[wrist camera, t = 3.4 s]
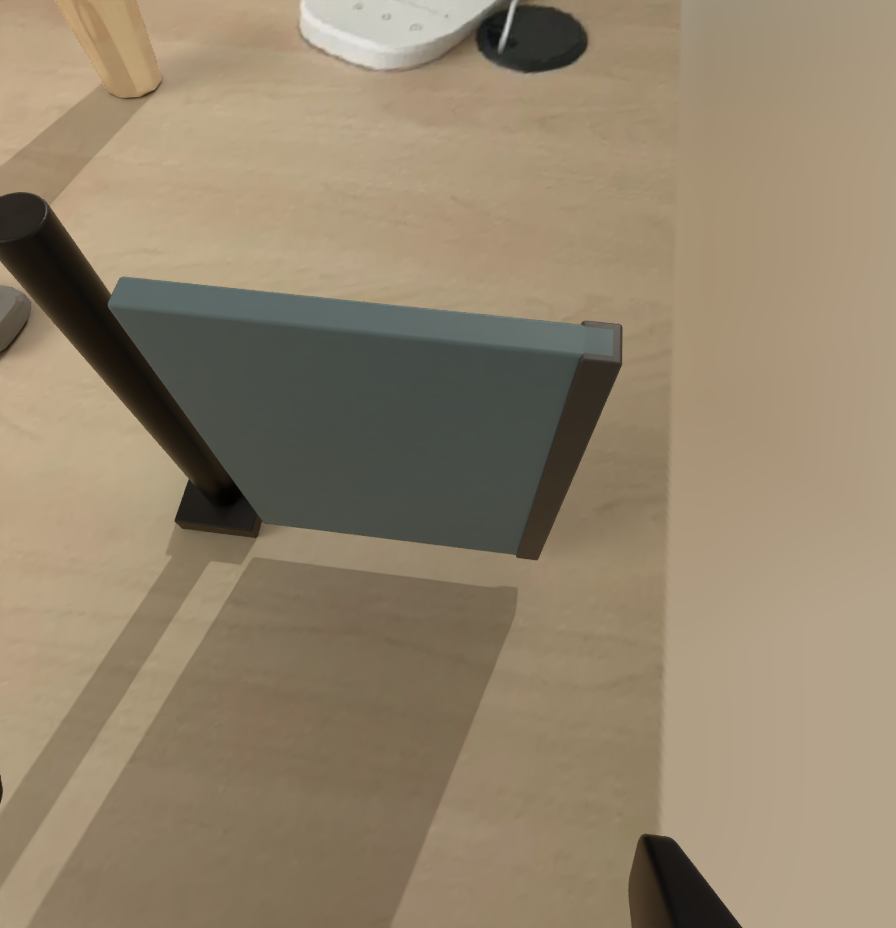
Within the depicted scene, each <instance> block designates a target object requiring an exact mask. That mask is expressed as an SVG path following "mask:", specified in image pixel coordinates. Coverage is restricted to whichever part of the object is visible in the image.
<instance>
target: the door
mask: <svg viewBox="0 0 896 928" xmlns="http://www.w3.org/2000/svg"><path fill="white" fill-rule="evenodd" d="M108 307H109V309H110V310H111V312H112V313H113V314H114V316H115V317H116V319H117V320H118V321H119V323H120V324H121V326H122V327H123V328H124V330H125V331H126V332H127V334H128V335H129V337H130V338H131V339H132V341H133V342H134V344H135V345H136V346H137V348H138V349H139V350H140V352H141V353H142V355H143V356H144V357H145V359H146V360H147V362H148V363H149V364H150V366H151V367H152V368H153V370H154V371H155V373H156V374H157V375H158V377H159V378H160V380H161V381H162V382H163V384H164V385H165V387H166V388H167V389H168V391H169V392H170V393H171V395H172V396H173V398H174V399H175V400H176V402H177V403H178V405H179V406H180V407H181V409H182V410H183V411H184V413H185V414H186V416H187V417H188V418H189V420H190V421H191V423H192V424H193V425H194V427H195V428H196V429H197V431H198V432H199V434H200V435H201V436H202V438H203V439H204V441H205V442H206V443H207V445H208V446H209V447H210V449H211V450H212V452H213V453H214V454H215V456H216V457H217V459H218V460H219V461H220V463H221V464H222V466H223V467H224V468H225V470H226V471H227V472H228V474H229V475H230V477H231V478H232V479H233V481H234V482H235V484H236V485H237V486H238V488H239V489H240V490H241V492H242V493H243V495H244V496H245V497H246V499H247V500H248V502H249V503H250V504H251V506H252V507H253V508H254V510H255V511H256V513H257V514H258V515H259V517H260V518H261V520H262V521H263V522H264V523H266V524H274V525H282V526H290V527H298V528H306V529H314V530H322V531H330V532H338V533H346V534H354V535H362V536H370V537H378V538H386V539H394V540H402V541H410V542H418V543H426V544H434V545H442V546H450V547H458V548H466V549H474V550H482V551H490V552H498V553H506V554H514V555H516V557H517V558H523V559H531V560H538V558H539V556H540V554H541V551H542V549H543V547H544V544H545V542H546V540H547V537H548V535H549V533H550V530H551V528H552V526H553V524H554V521H555V519H556V517H557V514H558V512H559V510H560V507H561V505H562V503H563V500H564V498H565V496H566V493H567V491H568V489H569V486H570V484H571V482H572V479H573V477H574V475H575V473H576V470H577V468H578V466H579V463H580V461H581V459H582V456H583V454H584V452H585V449H586V447H587V445H588V442H589V440H590V438H591V435H592V433H593V431H594V428H595V426H596V424H597V422H598V419H599V417H600V415H601V412H602V410H603V408H604V405H605V403H606V401H607V398H608V396H609V394H610V391H611V389H612V387H613V384H614V382H615V380H616V377H617V375H618V373H619V370H620V368H621V366H622V325H620V324H613V323H603V322H594V321H583V322H582V323H581V325H580V324H570V323H561V322H551V321H541V320H532V319H522V318H513V317H503V316H494V315H484V314H475V313H465V312H456V311H446V310H437V309H427V308H418V307H408V306H398V305H389V304H379V303H370V302H360V301H351V300H341V299H332V298H322V297H313V296H303V295H294V294H284V293H274V292H265V291H255V290H246V289H236V288H227V287H217V286H208V285H198V284H189V283H179V282H170V281H160V280H151V279H141V278H131V277H121V278H120V279H119V280H118V283H117V285H116V287H115V289H114V291H113V293H112V295H111V297H110V300H109V302H108Z"/></svg>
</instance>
